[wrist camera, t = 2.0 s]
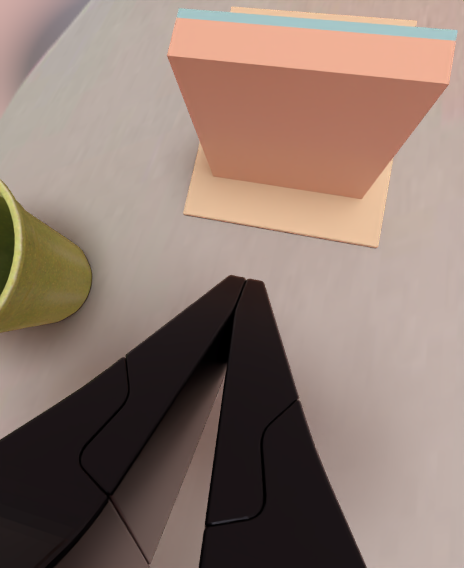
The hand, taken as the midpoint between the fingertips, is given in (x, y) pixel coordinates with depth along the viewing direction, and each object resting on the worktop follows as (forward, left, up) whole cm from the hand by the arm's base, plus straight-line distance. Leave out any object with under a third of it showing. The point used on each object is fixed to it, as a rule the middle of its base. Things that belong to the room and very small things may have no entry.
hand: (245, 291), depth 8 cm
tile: (+7, +6, -13) cm, 16 cm away
